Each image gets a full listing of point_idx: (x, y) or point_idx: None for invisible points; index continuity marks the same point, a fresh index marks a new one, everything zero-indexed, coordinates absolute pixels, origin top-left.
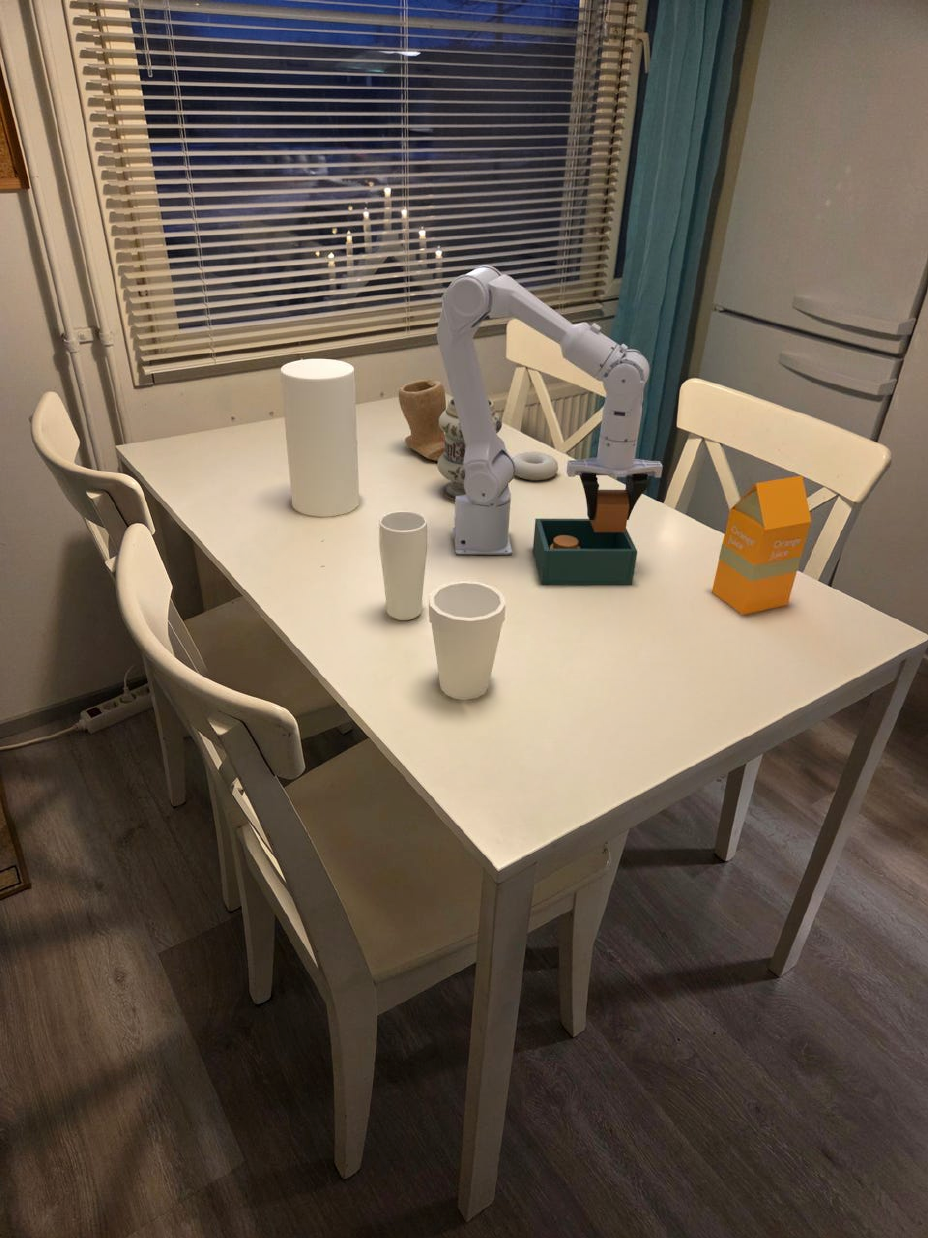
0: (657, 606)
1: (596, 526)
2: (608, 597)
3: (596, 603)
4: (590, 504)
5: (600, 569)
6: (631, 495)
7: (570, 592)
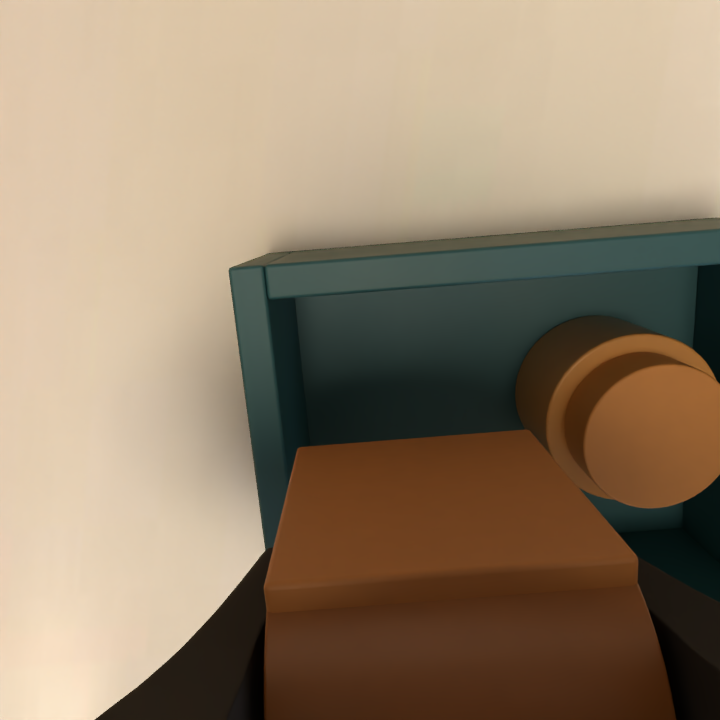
0: (160, 41)
1: (533, 447)
2: (400, 117)
3: (470, 48)
4: (689, 592)
5: (448, 242)
6: (228, 703)
7: (583, 154)
